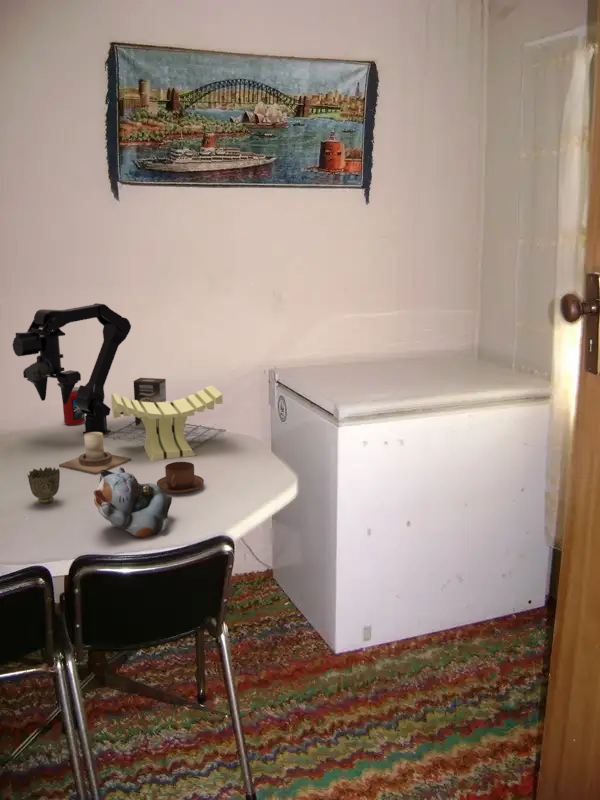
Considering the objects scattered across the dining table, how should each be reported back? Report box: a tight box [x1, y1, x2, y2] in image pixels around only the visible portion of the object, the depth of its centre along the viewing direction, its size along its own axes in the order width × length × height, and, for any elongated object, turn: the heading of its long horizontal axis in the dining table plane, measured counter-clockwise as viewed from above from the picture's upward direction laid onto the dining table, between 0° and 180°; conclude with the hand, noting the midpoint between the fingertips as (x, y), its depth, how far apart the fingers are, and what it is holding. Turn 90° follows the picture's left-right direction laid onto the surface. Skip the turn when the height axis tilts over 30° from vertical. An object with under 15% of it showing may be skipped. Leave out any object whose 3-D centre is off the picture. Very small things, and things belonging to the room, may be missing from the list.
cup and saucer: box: [156, 461, 205, 494], centre depth 192 cm, size 12×12×6 cm
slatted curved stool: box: [111, 385, 224, 461], centre depth 222 cm, size 30×16×18 cm, turn 110°
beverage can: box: [62, 386, 86, 426], centre depth 252 cm, size 7×7×12 cm
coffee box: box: [133, 377, 167, 430], centre depth 248 cm, size 9×6×16 cm
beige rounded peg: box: [83, 432, 105, 460], centre depth 211 cm, size 5×5×8 cm
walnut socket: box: [58, 451, 132, 476], centre depth 212 cm, size 14×14×2 cm
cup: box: [27, 466, 61, 505], centre depth 183 cm, size 8×7×8 cm
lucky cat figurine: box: [93, 466, 173, 539], centre depth 167 cm, size 17×14×16 cm
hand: (54, 402), depth 229 cm, fingers open, 9 cm apart
